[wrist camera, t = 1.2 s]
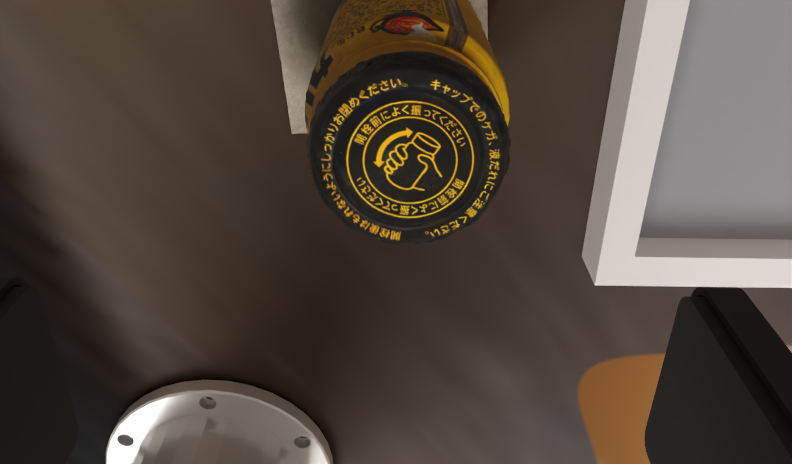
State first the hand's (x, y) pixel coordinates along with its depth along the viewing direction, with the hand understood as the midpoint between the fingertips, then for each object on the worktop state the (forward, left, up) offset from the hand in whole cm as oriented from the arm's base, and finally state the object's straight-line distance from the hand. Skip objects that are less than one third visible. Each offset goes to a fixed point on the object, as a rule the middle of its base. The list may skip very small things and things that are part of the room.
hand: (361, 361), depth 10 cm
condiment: (0, 0, -20) cm, 20 cm away
